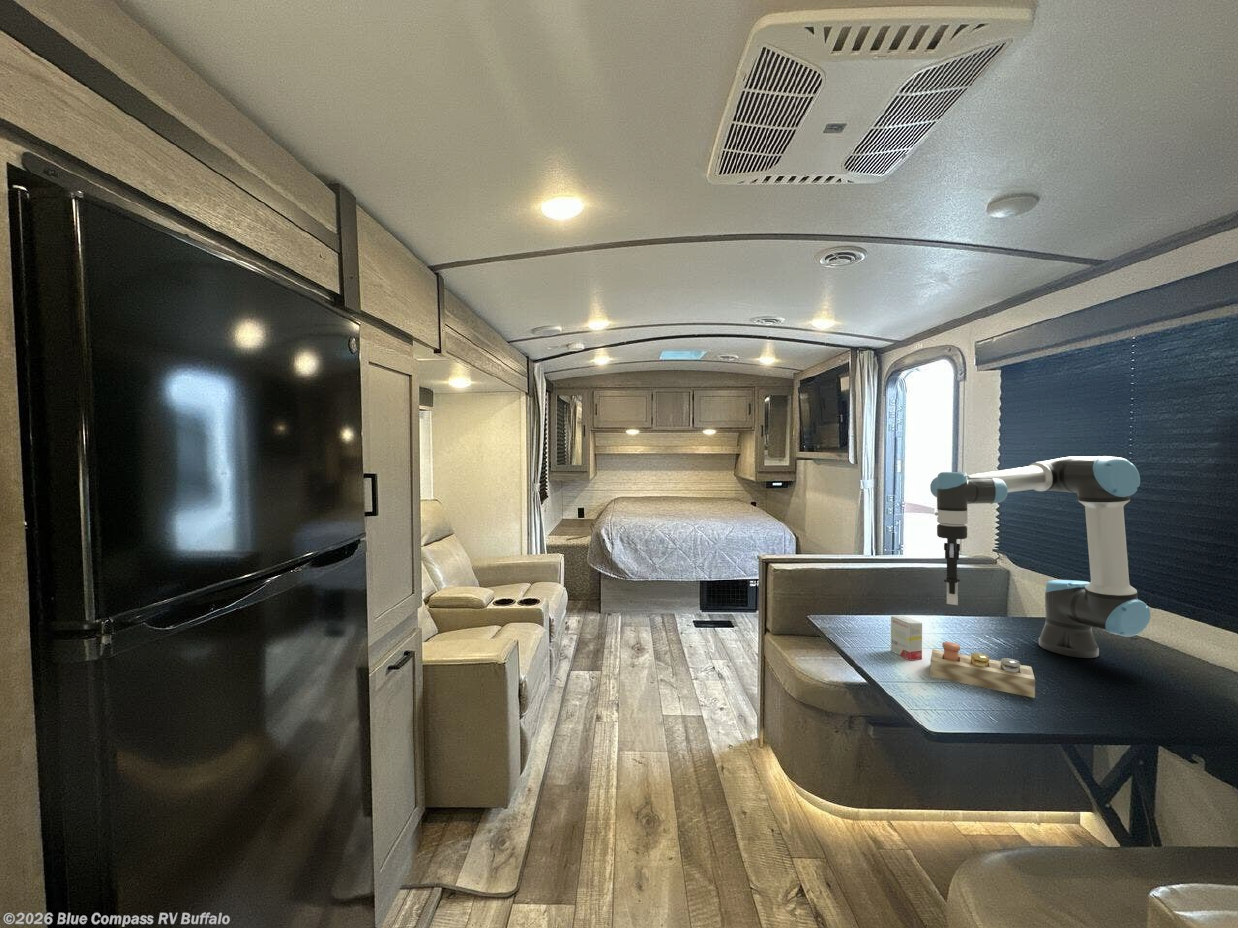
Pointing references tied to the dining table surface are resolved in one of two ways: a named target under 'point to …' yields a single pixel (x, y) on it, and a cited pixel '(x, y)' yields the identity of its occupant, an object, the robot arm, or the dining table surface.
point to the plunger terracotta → (951, 651)
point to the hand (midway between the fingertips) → (952, 603)
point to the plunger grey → (1010, 665)
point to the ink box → (906, 637)
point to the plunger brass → (980, 659)
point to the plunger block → (983, 674)
